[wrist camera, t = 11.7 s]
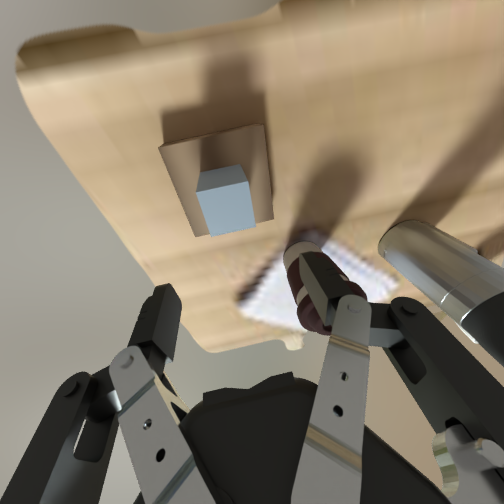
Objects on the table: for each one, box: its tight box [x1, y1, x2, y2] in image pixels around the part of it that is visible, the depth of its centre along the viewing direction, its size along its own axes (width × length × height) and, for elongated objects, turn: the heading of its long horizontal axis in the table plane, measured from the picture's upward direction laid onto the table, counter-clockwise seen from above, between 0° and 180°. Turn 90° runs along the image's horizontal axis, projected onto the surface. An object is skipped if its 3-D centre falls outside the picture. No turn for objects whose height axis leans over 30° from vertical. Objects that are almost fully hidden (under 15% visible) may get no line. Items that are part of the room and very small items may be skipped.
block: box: [196, 164, 256, 237], centre depth 22 cm, size 5×5×7 cm
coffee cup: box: [283, 241, 367, 336], centre depth 32 cm, size 10×10×15 cm
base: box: [158, 123, 274, 237], centre depth 26 cm, size 12×12×3 cm
